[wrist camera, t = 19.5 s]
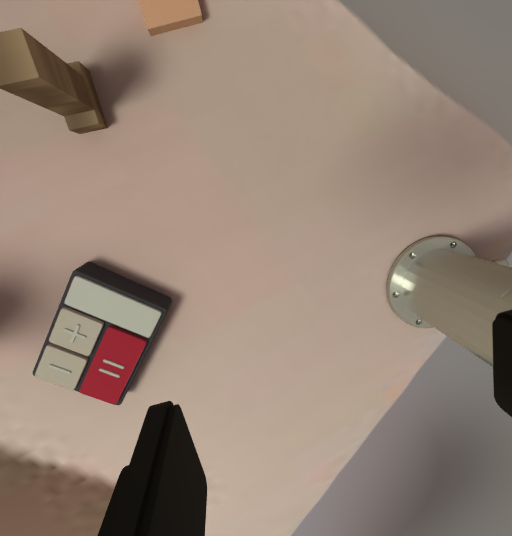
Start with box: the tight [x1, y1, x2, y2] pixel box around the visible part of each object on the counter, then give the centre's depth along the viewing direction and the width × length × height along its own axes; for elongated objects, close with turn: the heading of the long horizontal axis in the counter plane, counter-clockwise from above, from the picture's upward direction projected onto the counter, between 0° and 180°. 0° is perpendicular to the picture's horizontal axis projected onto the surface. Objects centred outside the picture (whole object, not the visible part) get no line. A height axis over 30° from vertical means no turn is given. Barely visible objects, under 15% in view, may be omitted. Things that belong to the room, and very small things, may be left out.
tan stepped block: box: [0, 28, 107, 134], centre depth 27 cm, size 3×6×12 cm, turn 13°
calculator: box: [33, 262, 172, 405], centre depth 38 cm, size 11×4×15 cm
